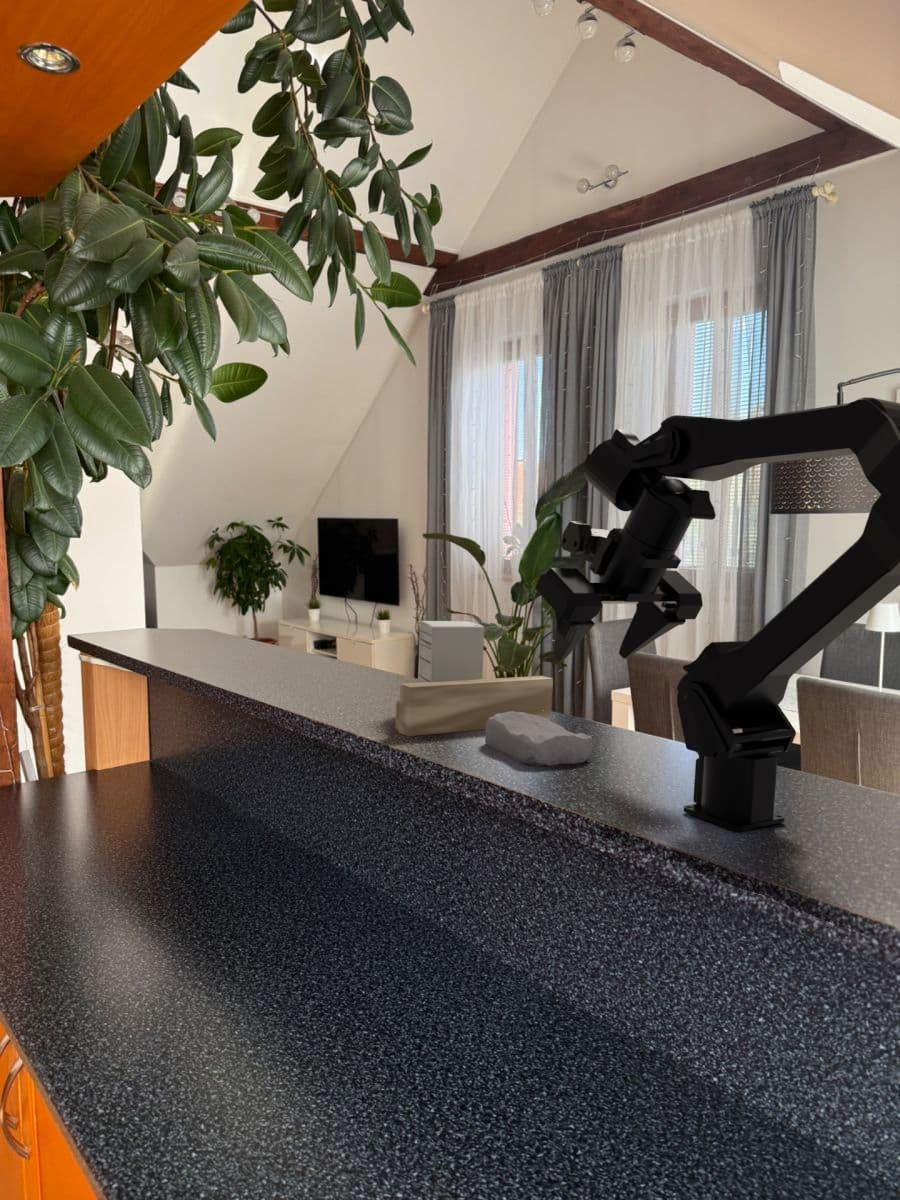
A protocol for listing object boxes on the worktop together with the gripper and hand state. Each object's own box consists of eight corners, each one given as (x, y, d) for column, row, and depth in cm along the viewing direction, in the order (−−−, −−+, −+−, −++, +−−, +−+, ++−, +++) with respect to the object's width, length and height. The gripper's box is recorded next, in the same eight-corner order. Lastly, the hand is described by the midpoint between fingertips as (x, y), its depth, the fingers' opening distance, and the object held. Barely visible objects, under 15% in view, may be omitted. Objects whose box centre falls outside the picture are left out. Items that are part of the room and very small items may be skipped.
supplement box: (465, 708, 129) (469, 620, 128) (481, 719, 122) (486, 626, 121) (415, 709, 127) (419, 619, 126) (428, 720, 120) (432, 625, 119)
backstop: (550, 722, 122) (552, 678, 121) (408, 736, 110) (410, 687, 110) (530, 716, 125) (532, 673, 125) (390, 729, 114) (392, 681, 113)
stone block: (545, 754, 112) (475, 743, 108) (554, 716, 112) (484, 703, 108) (599, 783, 102) (524, 772, 97) (610, 741, 101) (535, 728, 97)
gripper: (669, 500, 101) (613, 613, 109) (536, 489, 91) (485, 614, 99) (734, 554, 94) (669, 672, 101) (597, 549, 84) (536, 680, 91)
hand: (590, 657), depth 99 cm, fingers open, 9 cm apart
